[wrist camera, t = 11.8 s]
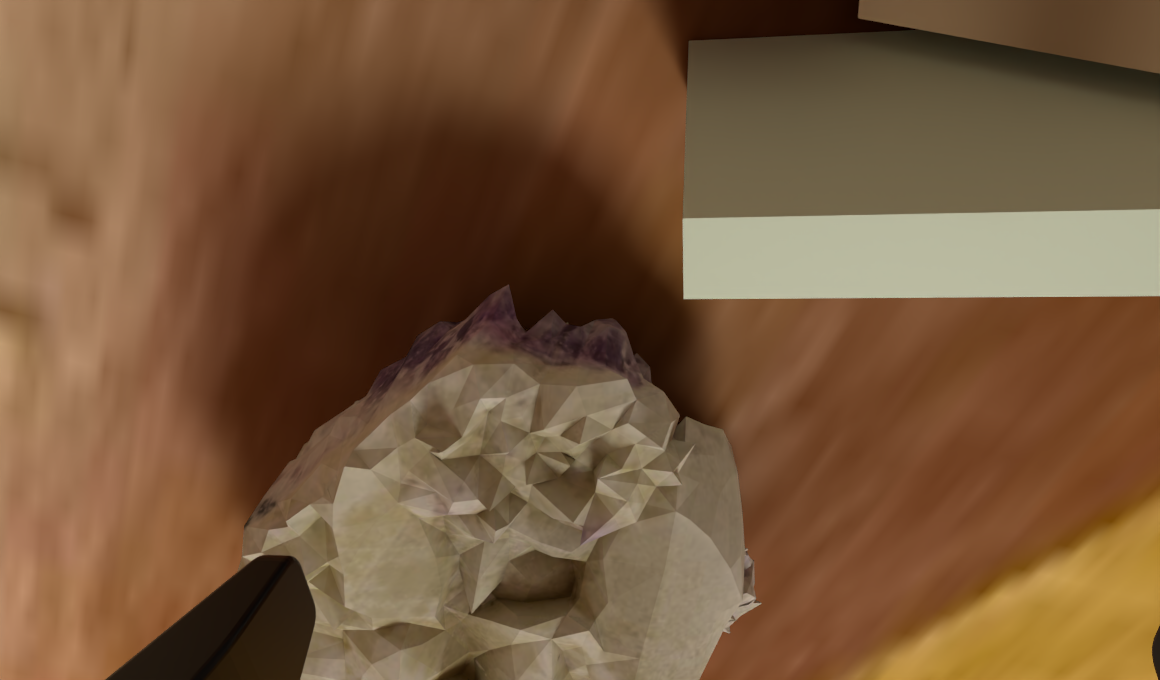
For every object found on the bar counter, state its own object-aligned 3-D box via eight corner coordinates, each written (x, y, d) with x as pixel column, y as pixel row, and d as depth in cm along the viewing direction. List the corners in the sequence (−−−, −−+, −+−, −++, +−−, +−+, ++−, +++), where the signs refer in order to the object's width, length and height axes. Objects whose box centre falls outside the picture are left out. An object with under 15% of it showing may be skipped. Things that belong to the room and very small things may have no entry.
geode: (757, 265, 27) (268, 230, 25) (891, 328, 18) (143, 280, 16) (697, 733, 31) (266, 730, 29) (784, 982, 22) (163, 999, 20)
